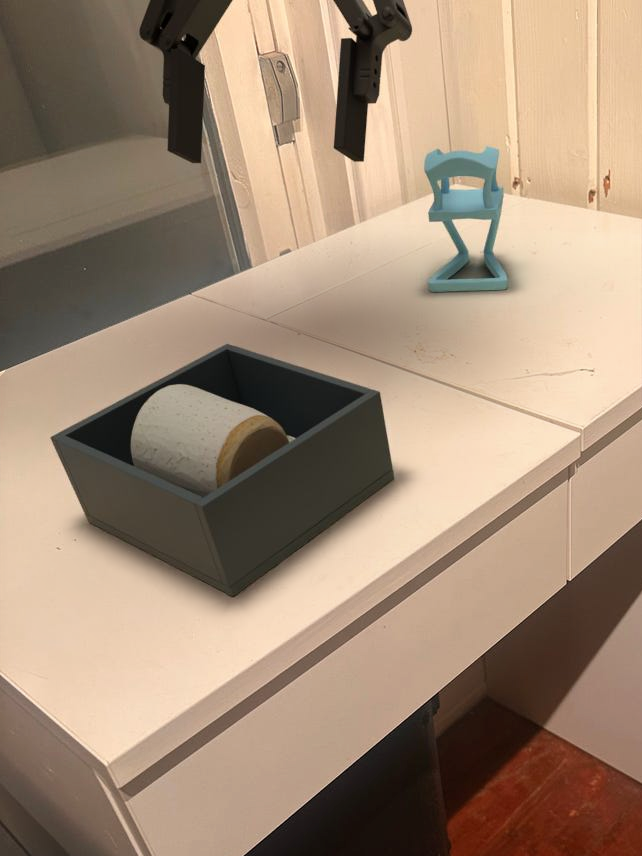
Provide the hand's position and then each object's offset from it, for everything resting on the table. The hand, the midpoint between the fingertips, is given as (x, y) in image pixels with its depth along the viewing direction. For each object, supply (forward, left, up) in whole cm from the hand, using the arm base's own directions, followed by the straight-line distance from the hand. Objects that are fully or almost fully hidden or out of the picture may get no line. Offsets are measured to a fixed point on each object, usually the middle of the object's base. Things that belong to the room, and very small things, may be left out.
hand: (263, 156), depth 63 cm
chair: (-3, +26, -18) cm, 32 cm away
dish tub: (+7, -14, -18) cm, 24 cm away
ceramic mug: (+7, -14, -17) cm, 23 cm away
